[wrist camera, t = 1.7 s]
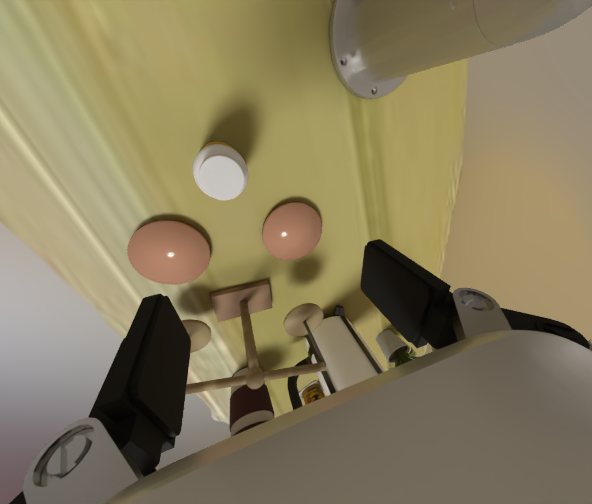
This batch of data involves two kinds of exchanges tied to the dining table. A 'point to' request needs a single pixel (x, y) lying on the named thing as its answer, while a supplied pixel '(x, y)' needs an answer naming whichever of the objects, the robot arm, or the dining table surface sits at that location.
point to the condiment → (312, 392)
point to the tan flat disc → (169, 252)
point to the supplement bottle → (220, 171)
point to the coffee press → (337, 357)
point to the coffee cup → (248, 406)
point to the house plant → (394, 348)
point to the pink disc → (291, 231)
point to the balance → (243, 305)
